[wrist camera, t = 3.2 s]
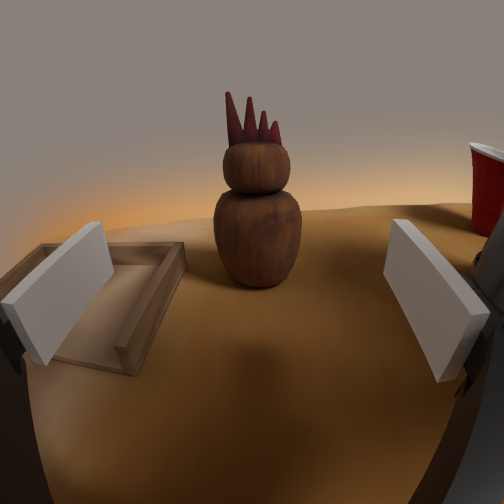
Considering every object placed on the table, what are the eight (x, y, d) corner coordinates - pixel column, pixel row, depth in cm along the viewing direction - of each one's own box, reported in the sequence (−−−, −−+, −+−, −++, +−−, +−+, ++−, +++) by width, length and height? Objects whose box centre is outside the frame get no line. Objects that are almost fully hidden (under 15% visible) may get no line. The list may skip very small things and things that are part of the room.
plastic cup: (480, 247, 29) (499, 152, 23) (445, 215, 38) (455, 138, 33) (530, 249, 28) (548, 167, 22) (493, 220, 37) (505, 150, 32)
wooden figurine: (207, 285, 25) (189, 93, 18) (238, 255, 29) (230, 94, 22) (285, 304, 22) (287, 86, 15) (306, 267, 27) (311, 92, 20)
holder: (187, 266, 28) (183, 241, 26) (137, 376, 16) (125, 347, 15) (47, 263, 29) (41, 243, 28) (-22, 334, 17) (-34, 312, 16)
